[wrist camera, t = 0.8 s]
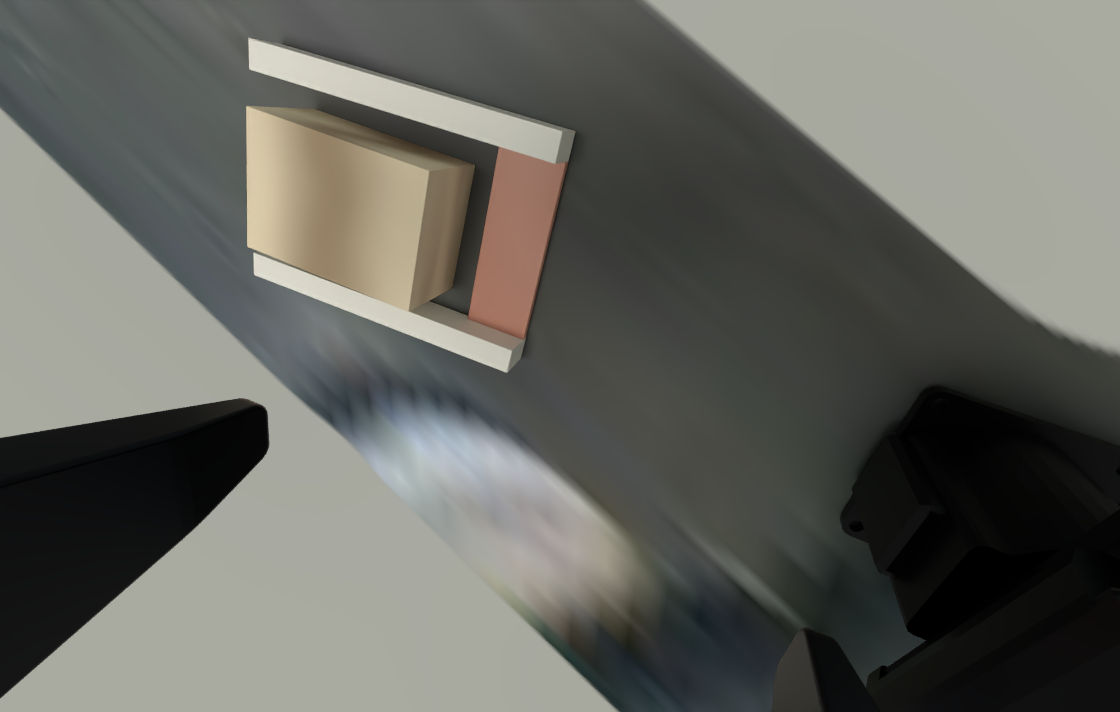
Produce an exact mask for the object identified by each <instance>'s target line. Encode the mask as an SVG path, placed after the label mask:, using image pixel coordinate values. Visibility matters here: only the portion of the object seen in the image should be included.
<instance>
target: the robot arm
mask: <svg viewBox="0 0 1120 712" xmlns="http://www.w3.org/2000/svg"><path fill="white" fill-rule="evenodd" d="M940 398H941V399H946V400H945V403H944V404H943V405H941V406H938V407H933V406H931V404H932V402H933V401H934V400H936V399H940ZM268 448H269V431H268V414H267V411H266V409H265V407H264V406H262V405H260V404H258V403H255V402H253V401H250V400H248V399H243V398H242V399H241V398H239V399H233V400H227V401H221V402H215V403H209V404H203V405H197V406H190V407H185V408H178V409H172V410H166V411H161V412H155V413H149V414H143V415H136V416H131V417H124V418H118V419H112V420H106V421H100V422H94V423H89V424H82V425H76V426H70V427H64V428H58V429H52V430H46V431H40V432H34V433H27V434H21V435H15V436H10V437H3V438H0V698H1V697H3V696H4V695H5V694H6V693H7V692H8V691H9V690H11V689H12V688H13V687H14V686H15V685H16V684H17V683H19V682H20V681H21V680H22V679H23V678H24V677H25V676H27V675H28V674H29V673H30V672H31V671H32V670H33V669H35V668H36V667H37V666H38V665H39V664H40V663H42V662H43V661H44V660H45V659H46V658H47V657H48V656H50V655H51V654H52V653H53V652H54V651H55V650H56V649H57V648H59V647H60V646H61V645H62V644H63V643H64V642H65V641H67V640H68V639H69V638H70V637H71V636H72V635H74V634H75V633H76V632H77V631H78V630H79V629H80V628H82V627H83V626H84V625H85V624H86V623H87V622H89V621H90V620H91V619H92V618H93V617H94V616H95V615H97V613H99V612H100V611H101V610H102V609H103V608H105V607H106V606H107V605H108V604H109V603H110V602H111V601H113V600H114V599H115V598H116V597H117V596H118V595H119V594H120V593H122V592H123V591H124V590H125V589H126V588H127V587H129V586H130V585H131V584H132V583H133V582H134V581H135V580H137V579H138V578H139V577H140V576H141V575H142V574H143V573H145V572H146V571H147V570H148V569H149V568H150V567H152V565H154V564H155V563H156V562H157V561H158V560H159V559H160V558H162V557H163V556H164V555H165V554H166V553H168V552H169V551H170V550H171V549H172V548H173V547H174V546H176V545H177V544H178V543H179V542H180V541H181V540H182V539H183V538H185V537H186V536H187V535H188V534H189V533H190V532H191V531H192V530H194V528H196V527H197V526H198V525H199V524H200V523H201V522H202V521H203V520H204V519H205V518H206V517H207V516H208V515H209V514H210V513H211V512H212V510H214V509H215V508H216V507H217V506H218V504H220V502H221V501H222V500H223V499H224V498H225V497H226V496H227V495H228V494H229V493H230V492H231V491H232V490H233V489H234V488H235V487H236V486H237V485H238V484H239V483H240V482H241V481H242V480H243V478H245V477H246V475H247V474H248V473H249V472H250V471H251V470H252V469H253V468H254V467H255V466H256V465H257V464H258V463H259V462H260V461H261V460H262V459H263V458H264V456H265V455H266V453H267V451H268ZM1119 466H1120V447H1118V446H1115V445H1112V444H1109V443H1107V442H1104V441H1101V440H1098V439H1095V438H1092V437H1089V436H1086V435H1083V434H1080V433H1077V432H1074V431H1071V430H1068V429H1065V428H1063V427H1060V426H1057V425H1054V424H1051V423H1048V422H1045V421H1042V420H1039V419H1036V418H1033V417H1030V416H1027V415H1024V414H1021V413H1019V412H1016V411H1013V410H1010V409H1007V408H1004V407H1001V406H998V405H995V404H992V403H989V402H986V401H983V400H980V399H977V398H975V397H972V396H969V395H966V394H963V393H960V392H957V391H954V390H951V389H948V388H945V387H939V386H937V387H931V388H929V389H927V390H925V391H924V392H923V393H922V394H921V395H920V396H919V398H918V399H917V401H916V402H915V404H914V405H913V407H912V408H911V410H910V411H909V413H908V414H907V416H906V418H905V419H904V421H903V422H902V424H901V425H900V427H899V428H898V430H897V431H896V433H893V434H891V435H888V436H886V437H885V438H884V440H883V441H882V443H881V444H880V446H879V447H878V449H877V450H876V452H875V453H874V455H873V456H872V458H871V459H870V461H869V462H868V464H867V466H866V467H865V469H864V470H863V472H862V473H861V475H860V476H859V478H858V479H857V481H856V482H855V484H854V485H853V487H852V491H853V494H854V496H853V497H852V499H851V500H850V502H849V503H848V505H847V506H846V508H845V509H844V511H843V512H842V514H841V517H840V521H841V525H842V529H843V530H844V532H845V533H846V534H848V535H850V536H852V537H855V538H857V539H860V540H862V541H865V542H867V543H869V547H870V550H871V553H872V556H873V560H874V563H875V565H876V567H877V569H878V571H879V572H880V573H881V574H884V575H886V576H889V577H890V580H891V583H892V586H893V589H894V592H895V595H896V598H897V601H898V604H899V607H900V610H901V613H902V616H903V619H904V622H905V625H906V628H907V630H908V632H910V633H911V634H913V635H915V636H917V637H920V638H922V639H924V640H927V641H925V642H924V643H922V644H921V645H919V646H918V647H916V648H915V649H913V650H912V651H910V652H909V653H908V654H906V655H905V656H903V657H902V658H900V659H899V660H897V661H896V662H894V663H893V664H891V665H890V666H888V667H886V666H881V667H879V668H878V669H876V670H875V671H873V672H872V673H870V674H869V676H868V679H867V685H866V688H865V686H864V684H863V683H862V681H861V679H860V678H859V676H858V675H857V673H856V671H855V670H854V668H853V667H852V665H851V663H850V662H849V660H848V659H847V657H846V655H845V654H844V652H843V651H842V649H841V647H840V646H839V644H838V643H837V642H836V641H835V640H834V639H833V638H831V637H829V636H827V635H824V634H822V633H819V632H817V631H815V630H812V629H810V628H802V629H801V630H799V631H798V633H797V634H796V636H795V638H794V639H793V641H792V643H791V644H790V646H789V648H788V649H787V651H786V653H785V654H784V656H783V657H782V659H781V661H780V663H779V665H778V667H777V671H776V675H775V681H774V693H773V704H772V712H1120V506H1119V505H1118V504H1119V503H1120V470H1117V468H1118V467H1119ZM852 521H861V523H860V524H857V525H853V524H850V523H851V522H852Z"/></svg>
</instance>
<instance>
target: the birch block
mask: <svg viewBox="0 0 1120 712" xmlns="http://www.w3.org/2000/svg"><path fill="white" fill-rule="evenodd" d="M474 169H475V165H474V164H471V163H468V162H465V161H462V160H459V159H457V158H454V157H451V156H448V155H445V154H442V153H439V152H436V151H434V150H431V149H428V148H425V147H422V146H419V145H416V144H414V143H411V142H408V141H405V140H402V139H399V138H396V137H393V136H391V135H388V134H385V133H382V132H379V131H376V130H373V129H370V128H368V127H365V126H362V125H359V124H356V123H353V122H350V121H347V120H345V119H342V118H339V117H336V116H333V115H330V114H327V113H325V112H322V111H319V110H316V109H299V108H278V107H257V106H247V247H250V248H252V249H254V250H257V251H259V252H262V253H264V254H267V255H269V256H272V257H274V258H277V259H279V260H281V261H284V262H286V263H289V264H291V265H294V266H296V267H299V268H301V269H304V270H306V271H309V272H311V273H313V274H316V275H318V276H321V277H323V278H326V279H328V280H331V281H333V282H336V283H338V284H340V285H343V286H345V287H348V288H350V289H353V290H355V291H358V292H360V293H363V294H365V295H367V296H370V297H372V298H375V299H377V300H380V301H382V302H385V303H387V304H390V305H392V306H395V307H397V308H399V309H402V310H404V311H407V312H410V311H411V310H413V309H415V308H417V307H419V306H420V305H422V304H424V303H426V302H428V301H430V300H431V299H433V298H435V297H437V296H439V295H441V294H442V293H444V292H446V291H448V290H450V289H452V287H453V282H454V276H455V271H456V266H457V260H458V255H459V249H460V244H461V239H462V233H463V228H464V223H465V217H466V212H467V207H468V201H469V196H470V191H471V185H472V180H473V174H474Z"/></svg>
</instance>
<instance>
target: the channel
mask: <svg viewBox="0 0 1120 712" xmlns="http://www.w3.org/2000/svg"><path fill="white" fill-rule="evenodd" d="M249 69H250V70H253V71H257V72H260V73H263V74H266V75H270V76H273V77H276V78H279V79H282V80H286V81H289V82H292V83H295V84H299V85H302V86H305V87H308V88H311V89H315V90H318V91H321V92H324V93H328V94H331V95H334V96H337V97H341V98H344V99H347V100H350V101H353V102H357V103H360V104H363V105H366V106H370V107H373V108H376V109H379V110H383V111H386V112H389V113H392V114H395V115H399V116H402V117H405V118H408V119H412V120H415V121H418V122H421V123H425V124H428V125H431V126H434V127H437V128H441V129H444V130H447V131H450V132H454V133H457V134H460V135H463V136H466V137H470V138H473V139H476V140H479V141H483V142H486V143H489V144H492V145H496V146H499V150H498V156H497V161H496V167H495V172H494V178H493V183H492V189H491V194H490V200H489V205H488V211H487V216H486V222H485V228H484V233H483V239H482V244H481V250H480V255H479V261H478V266H477V272H476V277H475V283H474V288H473V294H472V299H471V305H470V310H469V316H467V315H465V314H462V313H459V312H457V311H454V310H451V309H449V308H446V307H443V306H441V305H438V304H435V303H433V302H430V301H428V302H426V303H424V304H422V305H420V306H419V307H417V308H415V309H413V310H411V311H410V312H407V311H404V310H402V309H399V308H397V307H395V306H392V305H390V304H387V303H385V302H382V301H380V300H377V299H375V298H372V297H370V296H367V295H365V294H363V293H360V292H358V291H355V290H353V289H350V288H348V287H345V286H343V285H340V284H338V283H336V282H333V281H331V280H328V279H326V278H323V277H321V276H318V275H316V274H313V273H311V272H309V271H306V270H304V269H301V268H299V267H296V266H294V265H291V264H289V263H286V262H284V261H281V260H279V259H277V258H274V257H272V256H269V255H267V254H264V253H262V252H259V251H258V252H254V275H256V276H259V277H261V278H264V279H266V280H269V281H272V282H274V283H277V284H279V285H282V286H284V287H287V288H290V289H292V290H295V291H297V292H300V293H302V294H305V295H308V296H310V297H313V298H315V299H318V300H320V301H323V302H326V303H328V304H331V305H333V306H336V307H338V308H341V309H344V310H346V311H349V312H351V313H354V314H356V315H359V316H362V317H364V318H367V319H369V320H372V321H375V322H377V323H380V324H382V325H385V326H387V327H390V328H393V329H395V330H398V331H400V332H403V333H405V334H408V335H411V336H413V337H416V338H418V339H421V340H423V341H426V342H429V343H431V344H434V345H436V346H439V347H441V348H444V349H447V350H449V351H452V352H454V353H457V354H459V355H462V356H465V357H467V358H470V359H472V360H475V361H478V362H480V363H483V364H485V365H488V366H490V367H493V368H496V369H498V370H501V371H503V372H506V373H507V372H508V371H509V370H510V369H511V368H512V367H513V366H514V365H515V364H516V363H517V362H518V361H519V360H520V359H521V356H522V352H523V348H524V343H525V339H526V335H527V331H528V327H529V323H530V319H531V314H532V310H533V306H534V302H535V298H536V294H537V290H538V285H539V281H540V277H541V273H542V269H543V265H544V261H545V256H546V252H547V248H548V244H549V240H550V236H551V231H552V227H553V223H554V219H555V215H556V211H557V207H558V202H559V198H560V194H561V190H562V186H563V182H564V178H565V173H566V169H567V165H568V161H569V157H570V153H571V149H572V144H573V140H574V136H575V132H576V131H573V130H570V129H566V128H563V127H560V126H556V125H553V124H550V123H546V122H543V121H539V120H536V119H533V118H529V117H526V116H523V115H519V114H516V113H512V112H509V111H506V110H502V109H499V108H496V107H492V106H489V105H485V104H482V103H479V102H475V101H472V100H469V99H465V98H462V97H458V96H455V95H452V94H448V93H445V92H442V91H438V90H435V89H431V88H428V87H425V86H421V85H418V84H415V83H411V82H408V81H404V80H401V79H398V78H394V77H391V76H388V75H384V74H381V73H377V72H374V71H371V70H367V69H364V68H361V67H357V66H354V65H350V64H347V63H344V62H340V61H337V60H334V59H330V58H327V57H323V56H320V55H317V54H313V53H310V52H307V51H303V50H300V49H296V48H293V47H290V46H286V45H283V44H279V43H273V42H268V41H262V40H257V39H252V38H249Z"/></svg>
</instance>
